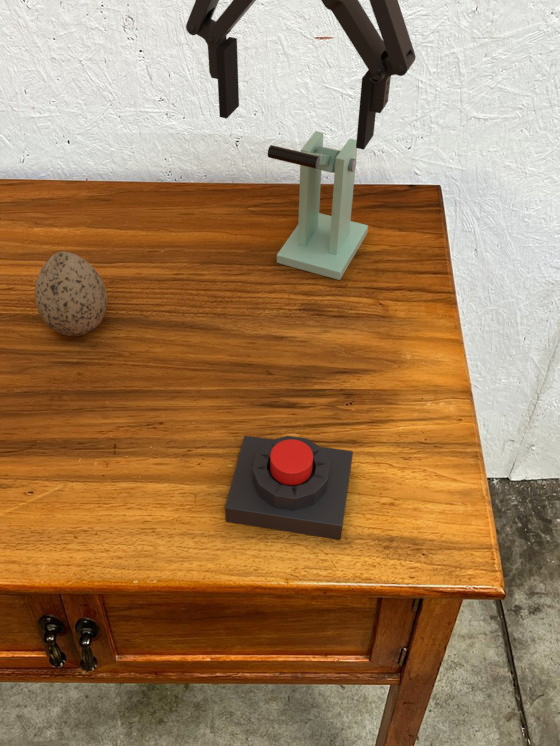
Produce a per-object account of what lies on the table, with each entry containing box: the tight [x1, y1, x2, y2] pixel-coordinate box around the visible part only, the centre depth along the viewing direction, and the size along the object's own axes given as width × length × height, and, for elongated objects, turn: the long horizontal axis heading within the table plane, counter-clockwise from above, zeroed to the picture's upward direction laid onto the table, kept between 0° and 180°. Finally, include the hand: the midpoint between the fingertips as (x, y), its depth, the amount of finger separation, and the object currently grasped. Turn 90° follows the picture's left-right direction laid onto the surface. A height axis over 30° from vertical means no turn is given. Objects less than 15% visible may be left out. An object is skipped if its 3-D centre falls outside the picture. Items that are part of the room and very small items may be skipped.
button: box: [270, 439, 313, 485], centre depth 66 cm, size 4×4×2 cm
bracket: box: [276, 130, 369, 281], centre depth 89 cm, size 10×8×14 cm
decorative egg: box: [34, 250, 108, 337], centre depth 80 cm, size 7×7×10 cm
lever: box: [267, 144, 342, 174], centre depth 80 cm, size 14×5×2 cm, turn 157°
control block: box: [224, 435, 354, 541], centre depth 68 cm, size 10×8×4 cm
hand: (295, 126), depth 72 cm, fingers open, 13 cm apart
